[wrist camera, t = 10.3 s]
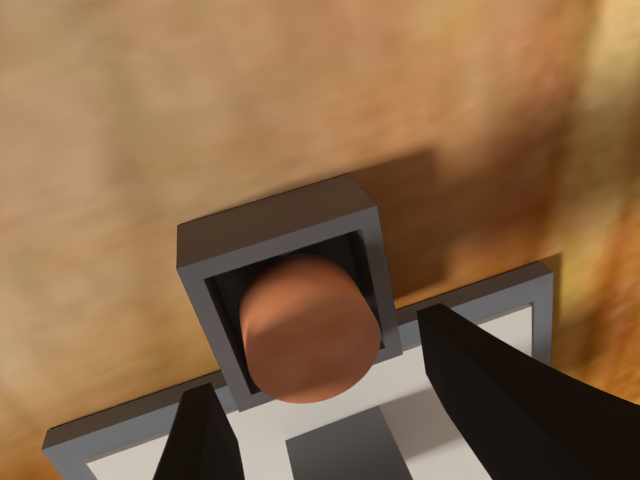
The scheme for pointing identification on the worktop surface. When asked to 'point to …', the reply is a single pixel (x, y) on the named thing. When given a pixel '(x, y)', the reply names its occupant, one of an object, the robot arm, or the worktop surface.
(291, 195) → the button housing
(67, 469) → the sketch board
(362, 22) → the worktop surface
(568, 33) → the worktop surface
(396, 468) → the block
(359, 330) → the button
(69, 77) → the worktop surface
